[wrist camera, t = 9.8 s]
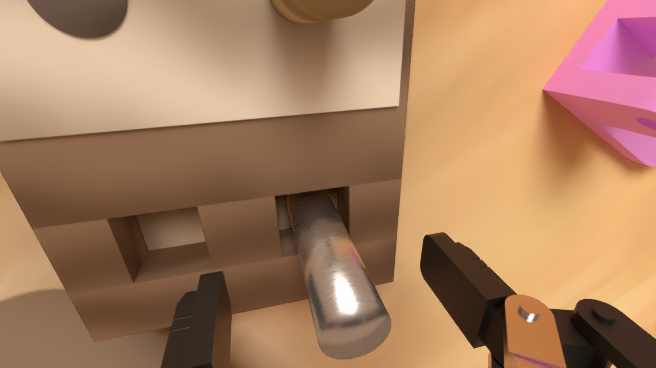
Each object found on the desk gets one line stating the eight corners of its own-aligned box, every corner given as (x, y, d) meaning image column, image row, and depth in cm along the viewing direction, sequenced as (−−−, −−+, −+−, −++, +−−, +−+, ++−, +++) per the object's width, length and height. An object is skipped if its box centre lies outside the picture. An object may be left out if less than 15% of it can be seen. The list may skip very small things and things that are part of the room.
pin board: (-127, -206, 9) (-1338, -980, 2) (397, -160, 12) (595, -417, 5) (113, 303, 18) (30, 470, 11) (378, 255, 21) (440, 362, 14)
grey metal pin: (284, 183, 17) (316, 314, 9) (327, 177, 17) (393, 298, 9) (288, 220, 18) (320, 366, 10) (328, 214, 18) (389, 349, 11)
